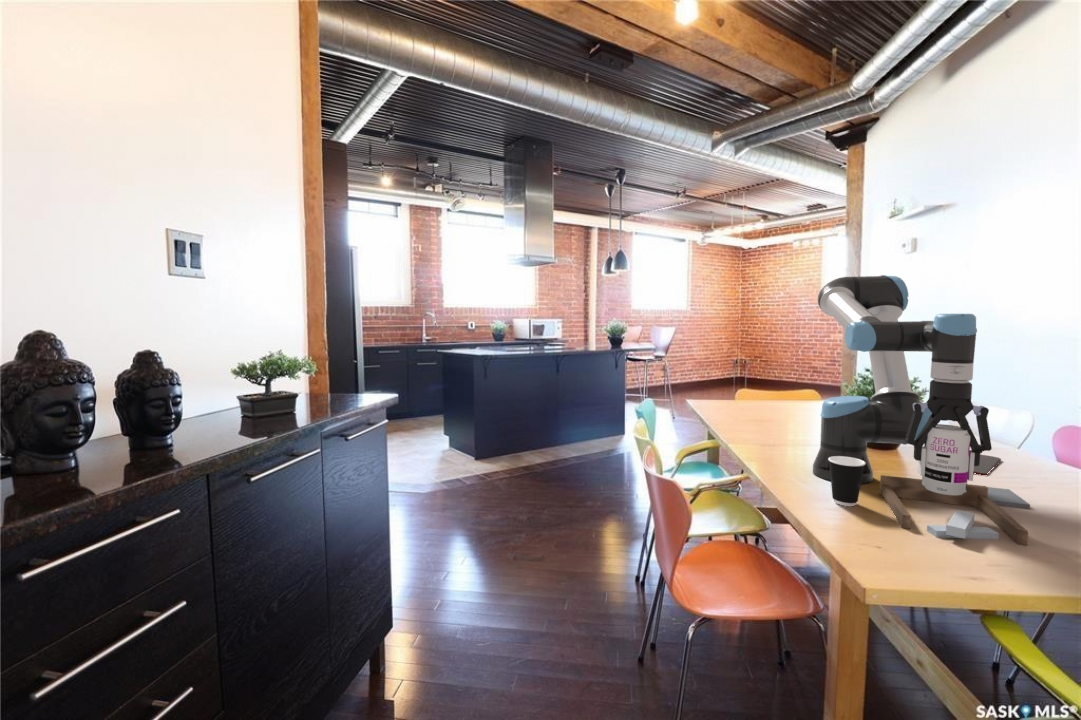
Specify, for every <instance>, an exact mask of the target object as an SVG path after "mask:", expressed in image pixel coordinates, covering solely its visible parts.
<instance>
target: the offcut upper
mask: <svg viewBox="0 0 1081 720" xmlns="http://www.w3.org/2000/svg"><path fill="white" fill-rule="evenodd" d="M975 514H976V513H973V512H970V511H965V510H964V511H963V510H960V509H956V511H955V512H954V513H953V515H952V516H951V518H950V519H949V521H948V522H947V523H946V525H945V526H946V534H947V535H951V536H955V537H959V538H958V539H964V540H965V539H966V538H965V537H966V536H967V534H968V532H969V530H970V529H971V527H973V525H974V524H975Z"/></svg>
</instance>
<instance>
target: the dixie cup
mask: <svg viewBox="0 0 1081 720" xmlns="http://www.w3.org/2000/svg"><path fill="white" fill-rule="evenodd" d="M828 460H829V462H830V474H831V480H830V482H831V483H830V484H831V485H830V487H831V494H832V499H833V503H834V502H835V503H837V504H836V505H838V504H841V505H845V506H844V507H846V506H854V505H856V506H857V503H858V501H859V496H860V489H861V485H862V483H861V480H862V474H863V468H864V465H865V464H866V463H865V462H864V461H862V460H860V459H856V458H851V457H844V456H833V457H829V458H828ZM835 503H834V504H835ZM841 505H840V506H841ZM854 507H855V506H854Z"/></svg>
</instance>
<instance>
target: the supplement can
mask: <svg viewBox="0 0 1081 720" xmlns="http://www.w3.org/2000/svg"><path fill="white" fill-rule="evenodd" d="M923 446H924V447H925V448H926V462H925V476H921V477H922V478H921V479H922V485H923V486H925V488H926V489H927V490H930V491H932V492H936V493H940V494H945V495H962V494H963V493H965V492H967V484H968V465H969V451H970V450H971V447H970V435H969V433H968V432H967V430H963V429H961V427H960V425H951V424H941V423H938V424H937V425H936V427H935V428H933V427H932V429H931V430H930V432H929V433H928V439H927V440H926V442H925V443H924V445H923Z"/></svg>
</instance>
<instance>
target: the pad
mask: <svg viewBox="0 0 1081 720" xmlns="http://www.w3.org/2000/svg"><path fill="white" fill-rule="evenodd" d="M986 487H987V488H988V496H987V497H988V498H989V499H990V500H992V501H993V502H994V503H995V504H996V505H998V506H1003V507H1013V508H1022V509H1029V508H1030V509H1031V504H1030V503H1028V502H1027V500H1025V499H1023V498H1022V497H1021V496H1019V495H1017V493H1015V492H1013V491H1012V489H1011V490H1010V489H1009V488H999V487H991V486H986Z"/></svg>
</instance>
